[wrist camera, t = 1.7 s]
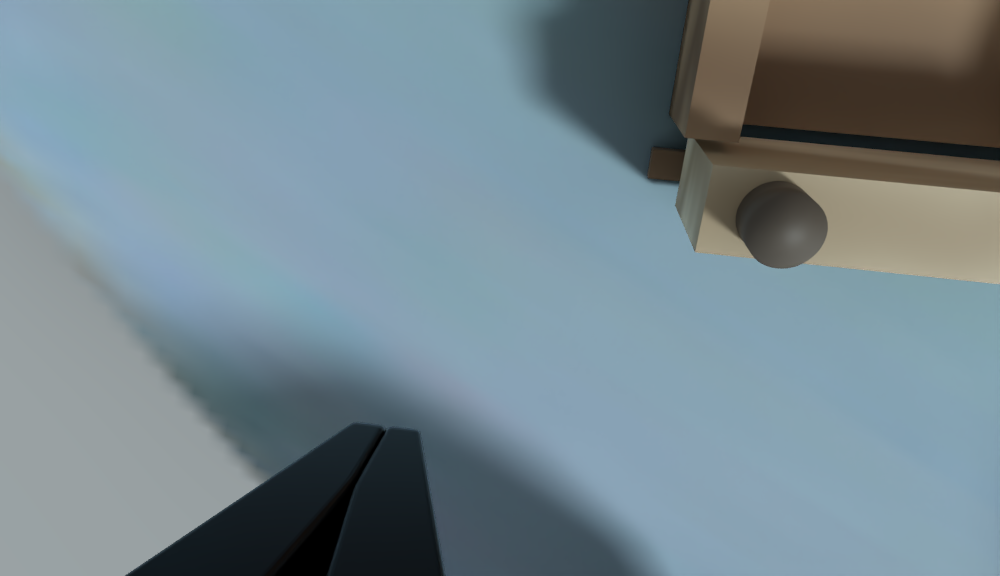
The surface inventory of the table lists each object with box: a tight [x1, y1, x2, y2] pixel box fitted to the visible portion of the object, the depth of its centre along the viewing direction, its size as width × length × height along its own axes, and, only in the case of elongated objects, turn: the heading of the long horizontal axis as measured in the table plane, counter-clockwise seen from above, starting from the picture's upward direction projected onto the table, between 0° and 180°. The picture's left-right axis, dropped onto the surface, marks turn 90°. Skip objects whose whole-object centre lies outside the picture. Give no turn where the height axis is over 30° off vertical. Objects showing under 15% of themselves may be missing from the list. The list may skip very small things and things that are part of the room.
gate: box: [675, 137, 1000, 284], centre depth 16 cm, size 2×9×4 cm, turn 86°
